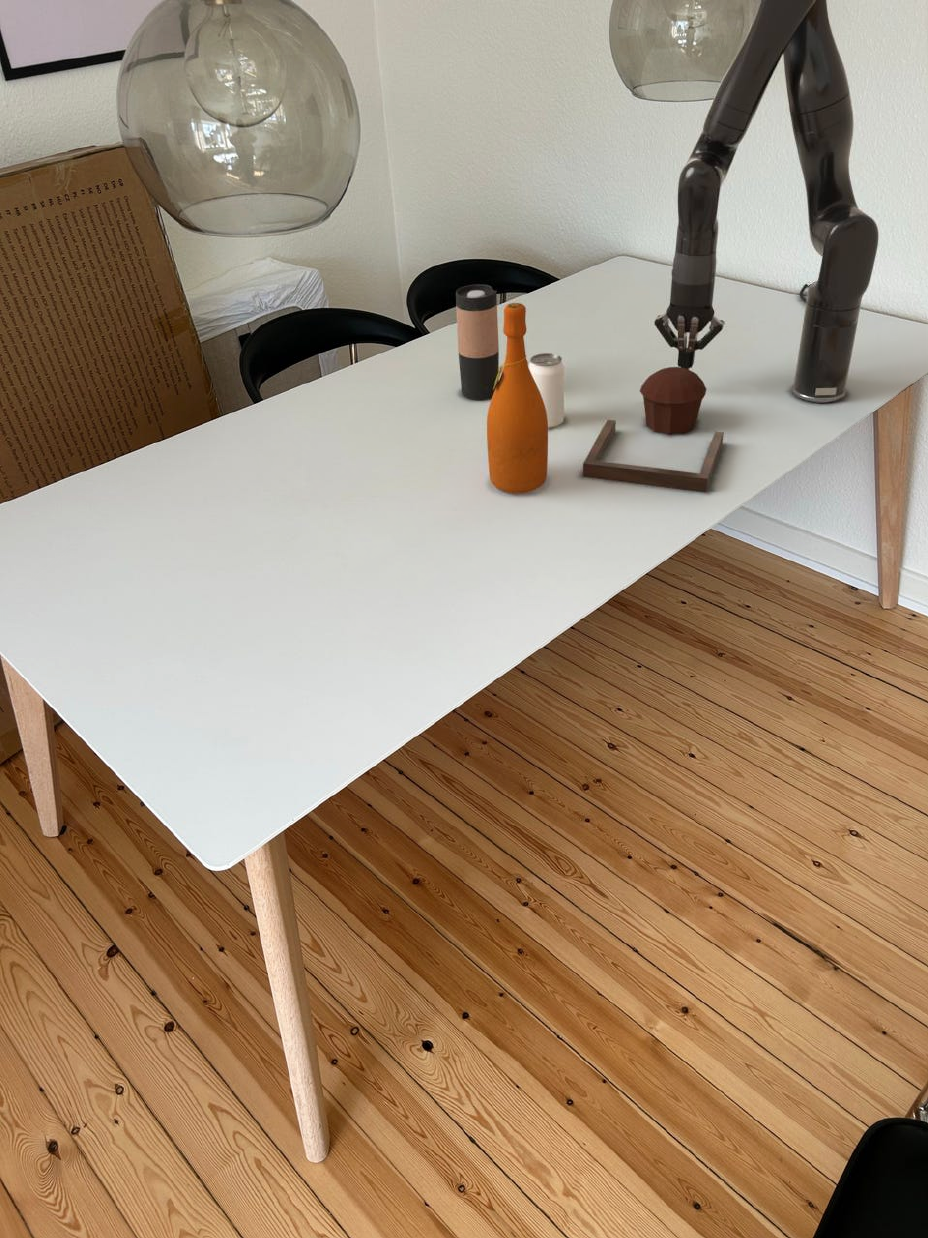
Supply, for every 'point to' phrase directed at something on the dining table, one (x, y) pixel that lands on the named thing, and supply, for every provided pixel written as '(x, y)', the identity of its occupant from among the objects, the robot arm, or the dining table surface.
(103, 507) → the dining table surface
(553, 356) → the can
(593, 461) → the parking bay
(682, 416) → the muffin
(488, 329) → the travel mug
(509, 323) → the wine bottle
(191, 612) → the dining table surface
